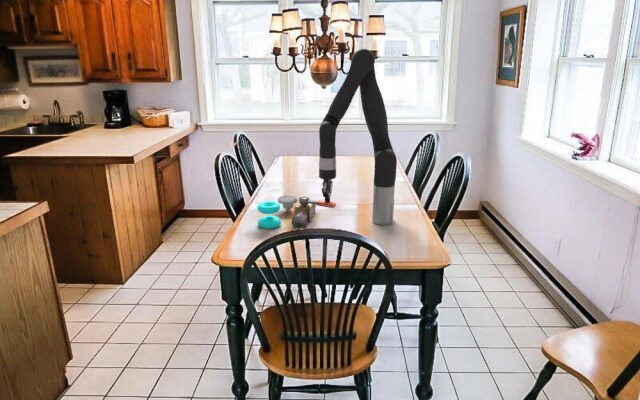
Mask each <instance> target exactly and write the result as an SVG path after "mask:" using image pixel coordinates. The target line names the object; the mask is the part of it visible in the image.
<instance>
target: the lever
mask: <svg viewBox="0 0 640 400" xmlns="http://www.w3.org/2000/svg"><path fill="white" fill-rule="evenodd" d="M298 202H299V204H303V205H305V204H309V203H310V204H316V207H317V206H318V207H322V208H323V207H324V208H330V209H334V208H335V207H337V203H336V202H333V201H330V202H329V201H325V200H321V199H319V200H315V199H310V197H308V196H300V197H299V198H298Z"/></svg>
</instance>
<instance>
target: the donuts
mask: <svg viewBox="0 0 640 400" xmlns="http://www.w3.org/2000/svg"><path fill="white" fill-rule="evenodd" d="M256 208H257V211H258V212H259V213H260V214H263V215H264V216H262V217H260V218H259V219H258V221H257V225H258V227H260V228H262V229H265V230H267V229H269V230H271V229H276V228H278V227H280V226H281V223H282V221H281V218H279V217H278V216H275V215H273V214H275V213H278V212H279V211H280V209H281V203H279V202H278V201H271V200H270V201H267V200H266V201H262V202H260V203H258V205H257V207H256Z"/></svg>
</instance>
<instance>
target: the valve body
mask: <svg viewBox="0 0 640 400" xmlns="http://www.w3.org/2000/svg"><path fill="white" fill-rule="evenodd" d="M316 207H317V205H316V204H310V203H309V204H305V205H303V204H299V201H298V202H297V203H295V206H294V215H293V217H292V218H291V225H292V227H294V228H295V229H301V228H307V227H308V223H309V224H311V222H312V220H313V219H314V217H315V214H316Z"/></svg>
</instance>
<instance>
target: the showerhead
mask: <svg viewBox="0 0 640 400" xmlns="http://www.w3.org/2000/svg"><path fill="white" fill-rule="evenodd" d="M298 202H299V198H298V197H297V196H295V195H292V194H291V195H287V194H286V195H280V196H278V198H277V203H279V204H280V205H282V207H283V209H285V212H287V213H288V212H291V209H293V207H294V204H297V203H298Z"/></svg>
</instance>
